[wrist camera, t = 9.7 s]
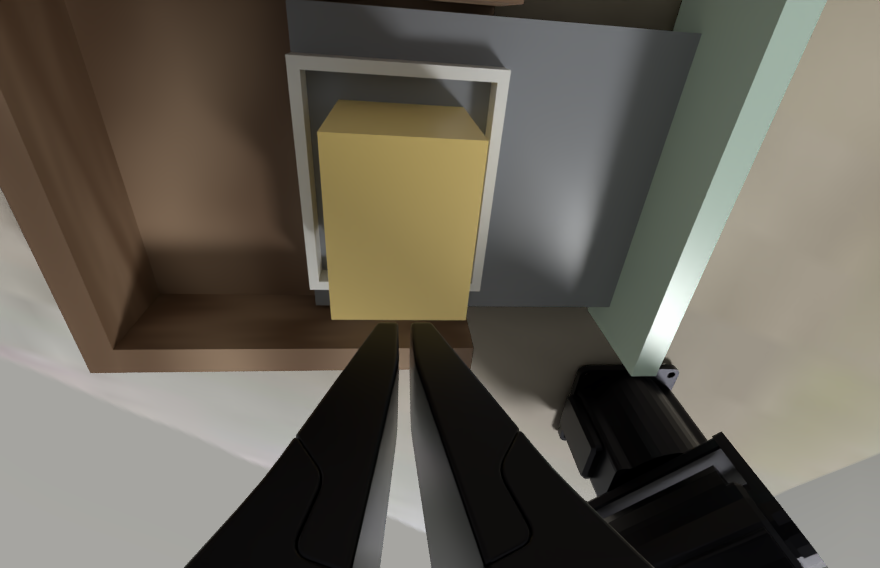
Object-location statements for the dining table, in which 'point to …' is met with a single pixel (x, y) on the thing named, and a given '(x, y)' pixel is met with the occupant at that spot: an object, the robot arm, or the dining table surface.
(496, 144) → the tray
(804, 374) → the dining table surface
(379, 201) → the mustard block
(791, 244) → the dining table surface
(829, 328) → the dining table surface
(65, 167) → the dock
